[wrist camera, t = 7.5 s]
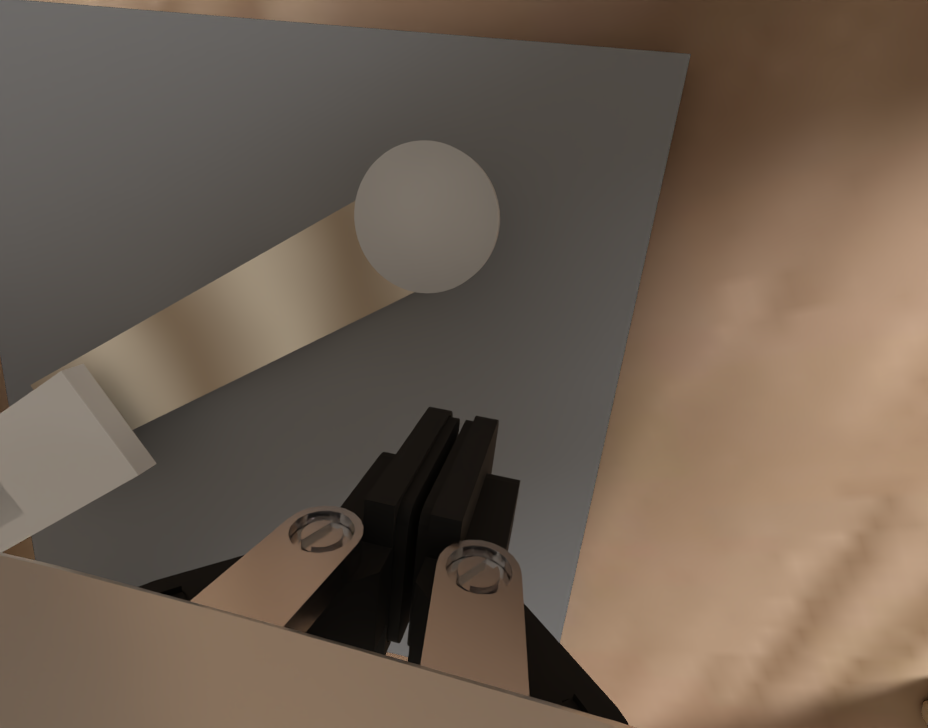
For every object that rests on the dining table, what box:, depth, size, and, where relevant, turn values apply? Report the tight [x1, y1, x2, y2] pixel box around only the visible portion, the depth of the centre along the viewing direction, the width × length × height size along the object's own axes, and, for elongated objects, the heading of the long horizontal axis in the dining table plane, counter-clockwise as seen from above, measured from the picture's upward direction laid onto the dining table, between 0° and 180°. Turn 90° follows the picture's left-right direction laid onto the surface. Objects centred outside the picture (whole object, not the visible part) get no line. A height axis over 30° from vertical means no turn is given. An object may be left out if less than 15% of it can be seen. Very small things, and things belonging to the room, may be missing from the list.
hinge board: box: [0, 0, 691, 657], centre depth 18 cm, size 23×24×5 cm
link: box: [31, 201, 414, 430], centre depth 17 cm, size 15×3×2 cm, turn 116°
